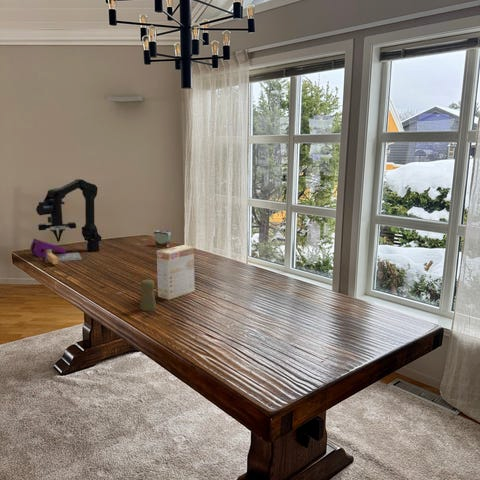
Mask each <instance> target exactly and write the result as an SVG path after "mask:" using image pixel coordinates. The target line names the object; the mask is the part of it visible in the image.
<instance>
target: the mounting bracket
mask: <svg viewBox="0 0 480 480" xmlns="http://www.w3.org/2000/svg"><path fill="white" fill-rule="evenodd" d="M29 249H30V252H31V253H32V254H33V255H35V256H36V257H38V258H45V255H46V249H51V250H52V251H56V252H59V253H62V254H66V253H67V251H68V250H67V248H64V247H63V246H62V247H61V246H59V245H55V244H53V243H49V242H46V241H43V240H41V239H36V238H33V240H32V242H31V244H30V248H29Z"/></svg>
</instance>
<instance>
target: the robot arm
mask: <svg viewBox="0 0 480 480" xmlns="http://www.w3.org/2000/svg"><path fill="white" fill-rule="evenodd" d="M77 189H79V190H80V191H81V192H82V194H81V195H82V196H83V197H84V199H85V200H84V201H85V202H84V203H85V207H84V208H85V211H84V212H85V224H84V225H83V226H81V234H82V235H81V236H82V237H83V239H84V241H87V242H86V243H85V244H86V245H85V246H86V251H87V252H88V253H93V252H100V242H101V241H102V238H103V237H102V236H101V235H100V234H99V232H98V227H97V225H96V224H95V199H96V198H97V195H98V186H97V185H96V184H95V183H91V182H88V181H86V180H84V179H80V178H79V179H78V178H77V179H74V180H73V181H71V182H68V183H66V184H65V185H63V186H61V187H58V188H57V187H56V188H52V189H48V191H47V194H46V196H45V198H44V199H43V201H39V202H38V205H36V208H35V211H36V213H37V214H38V215H39V216H46V215H50V216H47V223H48V224H47V223H38V225H37V227H38V231H46V230H47V229H49V230H50V232H52V233H53V234H54V236H55V238H56V241H57V242H59V243H60V241H61V237H62V234H63V232H64V231H66V228H69V229H76V228H77V224H76V223H77V222H75V221H67V223H63V221H64V220H63V207H62V206H63V205H65V204H66V203H65V202H64V201H63V199H65V197H66V196H67V195H68V194H70V193H72V192H73V191H75V190H77ZM57 229H58V232H57Z"/></svg>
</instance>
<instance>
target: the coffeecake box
mask: <svg viewBox="0 0 480 480" xmlns="http://www.w3.org/2000/svg"><path fill="white" fill-rule="evenodd" d="M156 276H157V277H156V278H157V297H159V298H162V299H165V300H168V301H169V300H172V299H176V298H178V297H181V296H184V295H188V294H190V293H191V294H192V293H193V292H195V291H196V290H195V288H196V287H195V247H194V246H189V245H185V244H182V245H177V246H172V247H169V248H163V249H159V250H156Z"/></svg>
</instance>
